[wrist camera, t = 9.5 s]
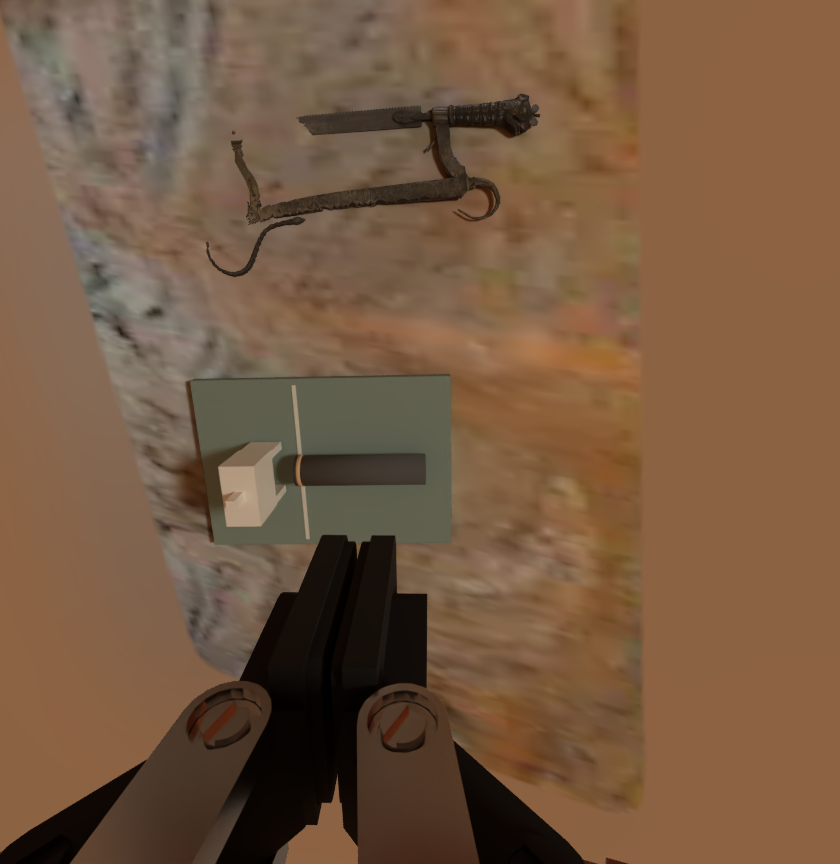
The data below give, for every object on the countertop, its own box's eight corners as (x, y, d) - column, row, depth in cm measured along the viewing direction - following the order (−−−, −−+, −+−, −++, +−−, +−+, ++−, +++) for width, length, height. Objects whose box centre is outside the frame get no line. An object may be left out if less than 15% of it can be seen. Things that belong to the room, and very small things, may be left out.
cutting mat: (194, 378, 38) (189, 380, 37) (450, 374, 38) (450, 376, 37) (218, 540, 42) (214, 545, 41) (451, 538, 41) (451, 543, 41)
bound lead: (299, 450, 39) (291, 460, 36) (425, 448, 38) (424, 459, 36) (302, 479, 39) (294, 491, 37) (425, 478, 39) (425, 490, 37)
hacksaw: (537, 98, 33) (542, 88, 31) (536, 259, 36) (540, 258, 34) (187, 123, 34) (176, 116, 32) (212, 278, 37) (203, 278, 35)
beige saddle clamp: (250, 440, 38) (207, 475, 31) (280, 440, 38) (244, 474, 31) (257, 492, 40) (216, 537, 32) (286, 492, 39) (252, 537, 32)
